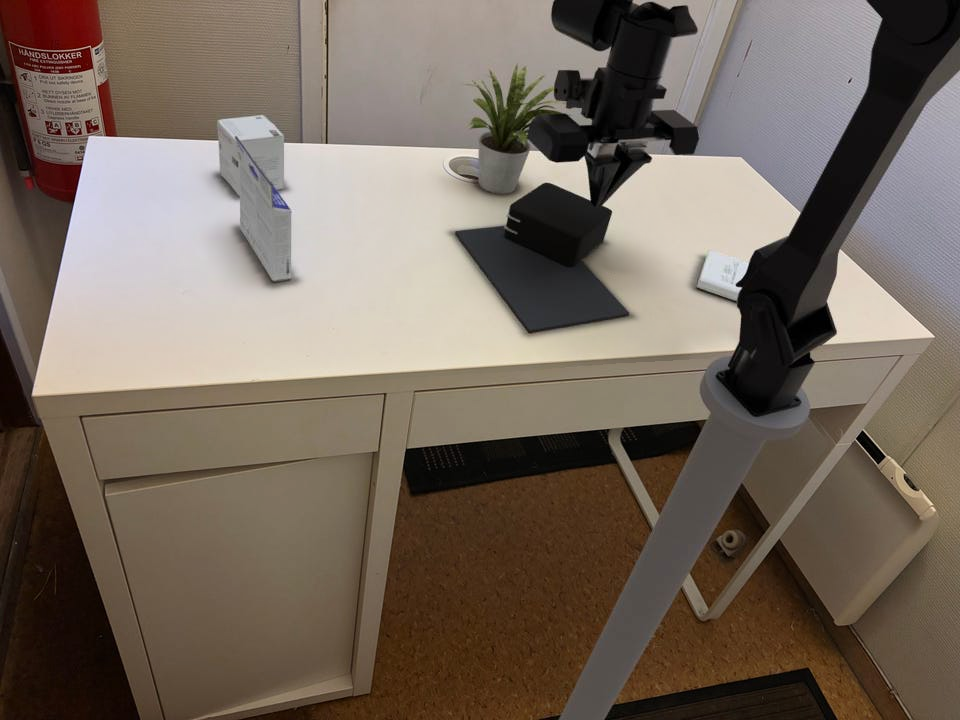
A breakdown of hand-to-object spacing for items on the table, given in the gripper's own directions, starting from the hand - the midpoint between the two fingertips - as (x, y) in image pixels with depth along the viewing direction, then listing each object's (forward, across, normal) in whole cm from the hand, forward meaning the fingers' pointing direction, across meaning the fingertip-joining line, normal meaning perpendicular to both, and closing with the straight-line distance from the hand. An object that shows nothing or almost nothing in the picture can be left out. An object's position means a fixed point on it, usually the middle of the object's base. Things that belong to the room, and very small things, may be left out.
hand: (595, 205), depth 86 cm
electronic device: (+6, -3, -2) cm, 7 cm away
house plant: (+9, +2, -20) cm, 22 cm away
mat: (+8, +6, 0) cm, 10 cm away
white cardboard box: (+9, +33, -26) cm, 43 cm away
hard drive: (+9, -20, +9) cm, 23 cm away
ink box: (+9, +35, -10) cm, 37 cm away
